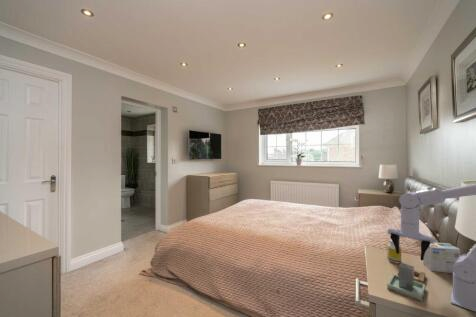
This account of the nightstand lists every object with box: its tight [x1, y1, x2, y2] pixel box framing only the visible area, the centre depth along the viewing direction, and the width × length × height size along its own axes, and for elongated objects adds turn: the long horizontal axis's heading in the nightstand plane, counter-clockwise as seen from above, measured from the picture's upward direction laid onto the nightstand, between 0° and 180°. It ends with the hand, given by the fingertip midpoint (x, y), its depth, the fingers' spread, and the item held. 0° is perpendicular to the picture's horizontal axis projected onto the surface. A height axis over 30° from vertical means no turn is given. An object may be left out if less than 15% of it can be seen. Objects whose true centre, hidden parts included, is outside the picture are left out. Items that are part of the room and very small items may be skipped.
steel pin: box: [398, 262, 415, 292], centre depth 82 cm, size 4×4×8 cm
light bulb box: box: [422, 242, 461, 274], centre depth 96 cm, size 11×7×11 cm, turn 77°
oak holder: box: [397, 269, 426, 284], centre depth 90 cm, size 8×8×2 cm
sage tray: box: [386, 273, 426, 303], centre depth 82 cm, size 10×10×2 cm
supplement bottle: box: [386, 238, 402, 264], centre depth 103 cm, size 5×5×10 cm
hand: (409, 255), depth 86 cm, fingers open, 7 cm apart
